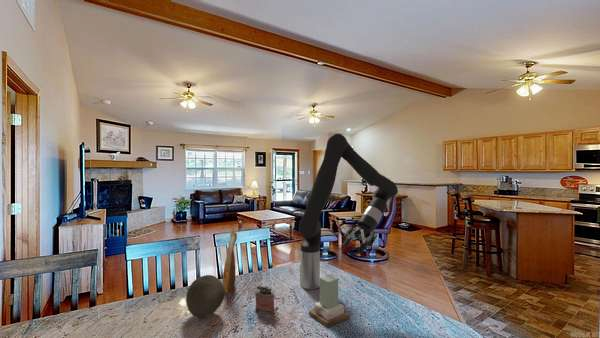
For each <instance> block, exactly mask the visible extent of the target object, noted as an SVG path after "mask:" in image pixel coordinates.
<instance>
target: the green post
mask: <svg viewBox="0 0 600 338" xmlns="http://www.w3.org/2000/svg"><path fill="white" fill-rule="evenodd" d="M319 302H320V304H321V305H323V306H324V307H326V308H328V309H329V308H332V307H335V306H337V305H338V303H339V278H337V277H335V276H334V275H331V274H330V275H325V276H320V287H319Z"/></svg>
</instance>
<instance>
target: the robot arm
mask: <svg viewBox="0 0 600 338" xmlns="http://www.w3.org/2000/svg"><path fill="white" fill-rule="evenodd" d="M341 158H342V159H343V160H344V161H346V162H347V164H348V165H350V167H351V168H352V169H353V170H354V171H355V172H356V174H358V175H359V176H360V177H361V178H362V180H364V181H365V182H366V183H367V184H368V185H369V186H370V187H371V186H372V187H374V186H376V187H377V189H376V191H375V192H374V193H373V197H372V200H371V201H370V203H368V206H367V207H366V209H365V210H364V211H363V213H362V215H361V216H360V218H359V219H358V221H357V226H356V227H354V226H352V225H350V226H349V227H348V229H347V231H345V233H344V235H343V237H344V238H345V239H344V241H343V244H342V247H343V249H345V250H346V249H348V247H349V246H350V244H351V242H353V241H355V240H361V241H362V242H361V244H360V245H359V247H358V248H357V252H358V254H360V255H362V254H363V253H364V252H365V250H366V248H367V247H373V245H374V243H375V241H376V239H377V237H378V233H376V231H375V230H376V228H377V226H378V225H379V223H380V222H381V219H382V216H383V215H384V213H385V212H386V209H387V208H388V204H387V203H388V201H389V200H390V199H391V198H392V199H393V198H394V197H396V195H397V194H398V192H399V189H398V186H397V184H396V183H395V182H394V181H392V180H391V179H390V178H388V177H386V176H385V175H383V174H381V173H380V172H378V170H377V169H376V168H375V167H374V166H373V165H371V164H370V163H369V162H368V161H367V160H365V159H364V157H362V156H361V155H360V154H358V152H357V151H356V150H354V148H353V147H352V146H351V144H350V143H349V142H348V139H347V138H346V136H345V135H343V134H341V133H333V134H332V135H330V136H329V137H328V140H327V142H326V146H325V152H324V156H323V159H322V162H321V164H320V167H319V168H318V171H317V174H316V177H315V179H314V181H313V185H312V188H311V191H310V195H309V197H308V201H307V205H306V207H305V211H304V212H303V216H302V217H301V220H300V221H299V223H298V231H299V234H300V236H301V237H302V242H301V243H300V264H299V285H300V286H301V288H303V289H306V290H315V289H320V278H321V257H320V255H321V248H320V247H321V244H322V224H321V221H320V216H321V215H322V211H323V209H324V208H325V206H326V204H327V202H328V200H329V199H330V197H331V195H332V191H333V188H334V186H335V182H336V178H337V172H338V167H339V163H340V161H341Z"/></svg>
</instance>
